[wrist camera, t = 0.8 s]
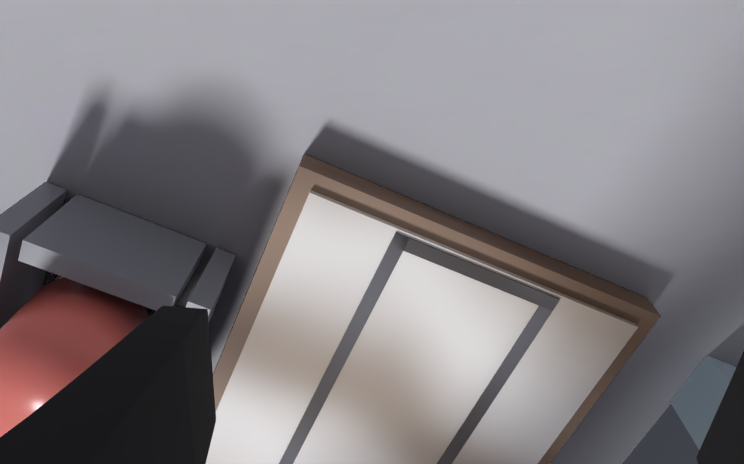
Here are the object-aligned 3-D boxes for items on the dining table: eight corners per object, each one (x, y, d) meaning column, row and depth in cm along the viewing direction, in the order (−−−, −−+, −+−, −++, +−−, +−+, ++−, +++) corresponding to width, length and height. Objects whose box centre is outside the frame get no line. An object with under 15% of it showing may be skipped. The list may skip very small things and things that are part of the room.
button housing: (181, 394, 21) (150, 462, 18) (9, 334, 20) (-50, 397, 17) (236, 255, 19) (210, 309, 16) (45, 181, 18) (-16, 226, 15)
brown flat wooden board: (450, 568, 24) (454, 599, 23) (170, 477, 22) (158, 506, 21) (647, 297, 19) (663, 321, 18) (303, 153, 17) (297, 168, 16)
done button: (137, 402, 18) (95, 483, 16) (13, 360, 18) (-53, 436, 15) (172, 305, 17) (133, 375, 14) (39, 256, 17) (-29, 319, 14)
